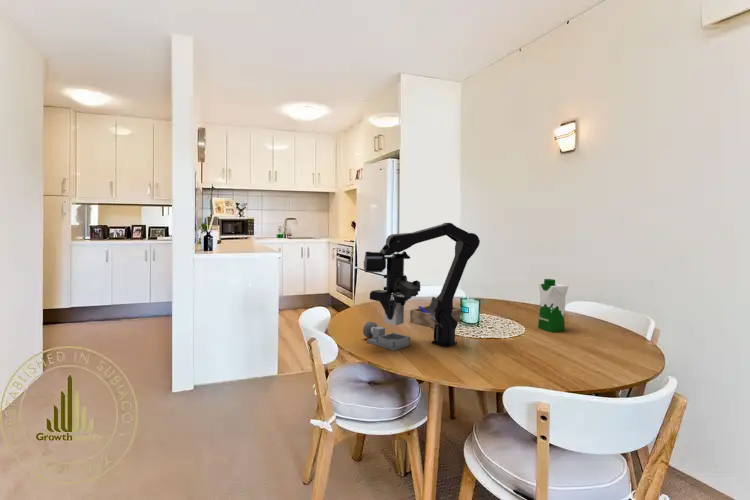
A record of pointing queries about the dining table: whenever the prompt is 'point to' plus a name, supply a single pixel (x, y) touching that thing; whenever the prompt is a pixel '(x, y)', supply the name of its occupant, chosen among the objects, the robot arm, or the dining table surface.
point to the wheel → (368, 329)
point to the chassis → (388, 339)
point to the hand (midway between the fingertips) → (394, 318)
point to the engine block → (396, 315)
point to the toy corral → (426, 319)
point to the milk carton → (552, 306)
